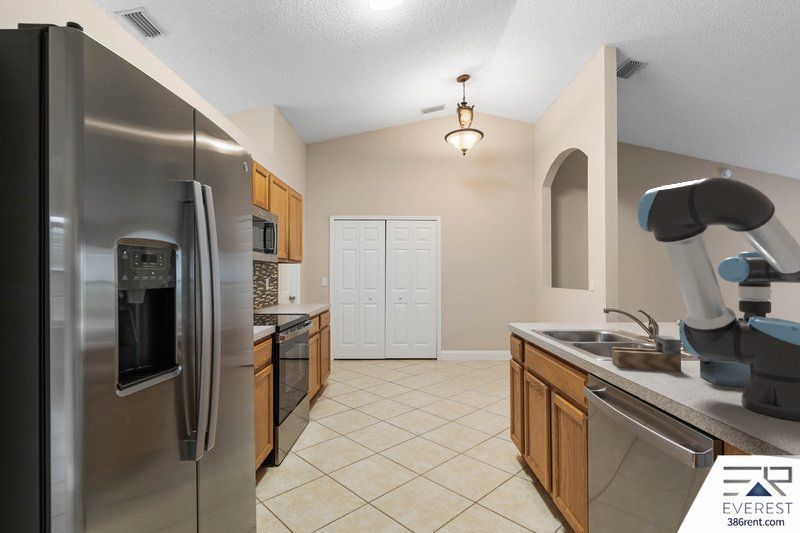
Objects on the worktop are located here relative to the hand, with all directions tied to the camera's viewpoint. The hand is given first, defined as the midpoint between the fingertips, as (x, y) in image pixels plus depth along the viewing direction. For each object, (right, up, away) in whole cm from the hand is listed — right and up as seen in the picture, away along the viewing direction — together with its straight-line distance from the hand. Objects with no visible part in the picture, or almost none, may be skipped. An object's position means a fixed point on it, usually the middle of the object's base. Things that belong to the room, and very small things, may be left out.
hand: (755, 373), depth 119 cm
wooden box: (-21, -3, +23) cm, 31 cm away
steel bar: (-7, +3, +2) cm, 8 cm away
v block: (-8, -3, +2) cm, 9 cm away
